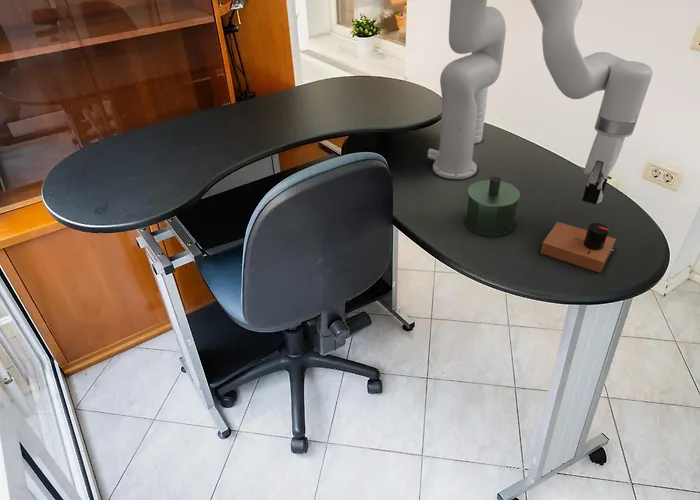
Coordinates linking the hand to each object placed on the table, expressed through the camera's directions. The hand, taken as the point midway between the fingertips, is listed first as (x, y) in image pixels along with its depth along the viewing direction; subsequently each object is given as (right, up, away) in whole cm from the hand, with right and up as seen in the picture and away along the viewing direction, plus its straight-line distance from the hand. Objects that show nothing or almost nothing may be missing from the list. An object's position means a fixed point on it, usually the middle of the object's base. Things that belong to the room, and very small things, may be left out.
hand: (592, 196), depth 118 cm
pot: (-22, -6, +7) cm, 24 cm away
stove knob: (-3, -11, -7) cm, 14 cm away
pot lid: (-23, +1, +2) cm, 23 cm away
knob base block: (-5, -13, -4) cm, 15 cm away
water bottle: (-16, +23, +46) cm, 54 cm away
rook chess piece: (0, -1, +1) cm, 1 cm away
